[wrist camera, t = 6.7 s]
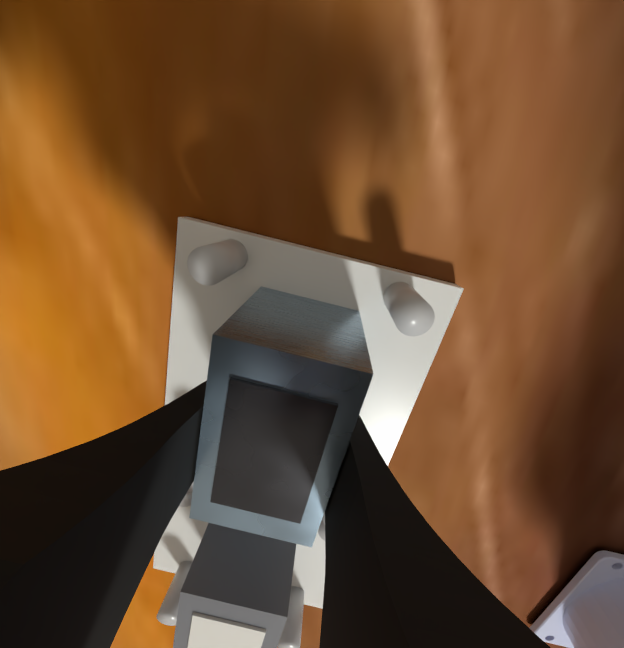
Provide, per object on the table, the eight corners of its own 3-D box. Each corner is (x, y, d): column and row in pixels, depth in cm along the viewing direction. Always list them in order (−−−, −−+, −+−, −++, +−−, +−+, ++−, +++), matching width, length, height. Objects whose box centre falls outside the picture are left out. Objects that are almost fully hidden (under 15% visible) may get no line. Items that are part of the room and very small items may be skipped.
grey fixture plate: (455, 284, 12) (554, 344, 7) (326, 594, 20) (322, 743, 14) (188, 216, 12) (62, 220, 7) (160, 554, 20) (90, 689, 14)
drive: (359, 310, 12) (373, 376, 7) (320, 437, 14) (311, 550, 10) (261, 286, 12) (211, 335, 7) (237, 417, 14) (187, 520, 10)
